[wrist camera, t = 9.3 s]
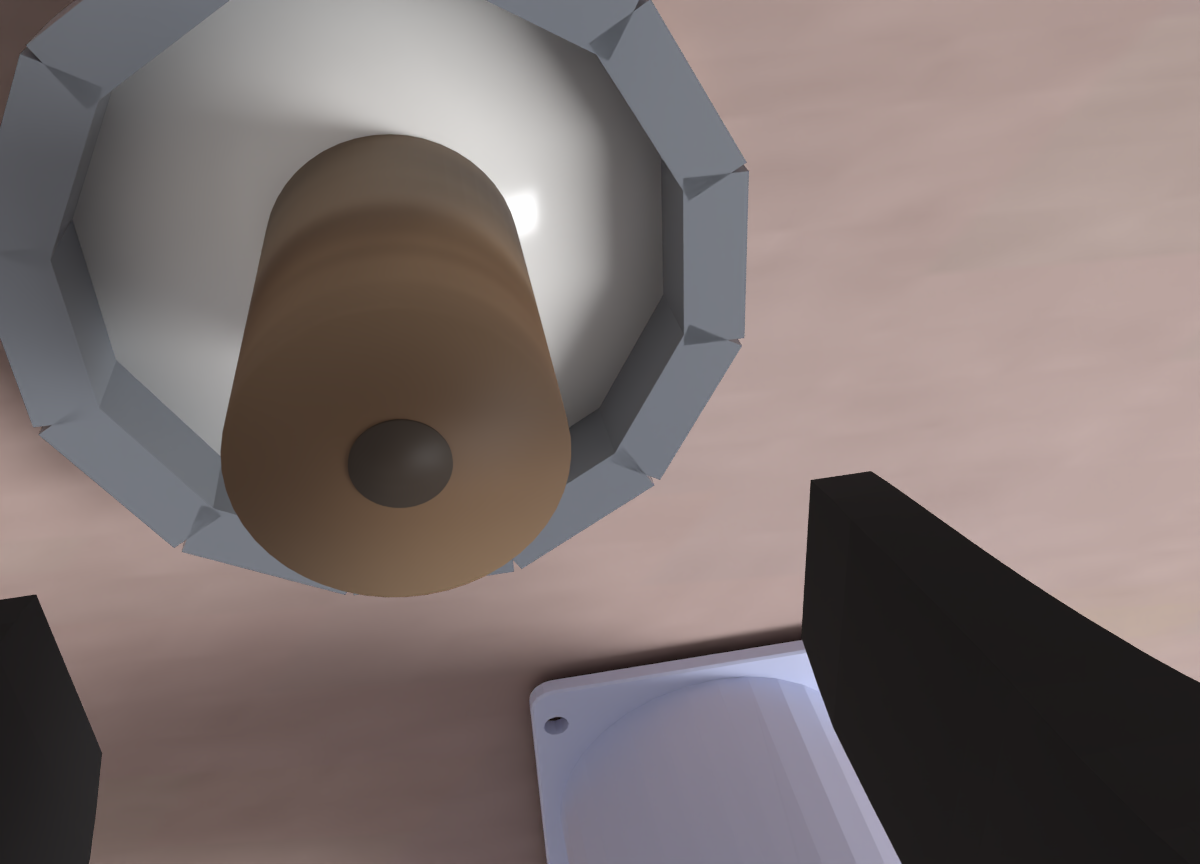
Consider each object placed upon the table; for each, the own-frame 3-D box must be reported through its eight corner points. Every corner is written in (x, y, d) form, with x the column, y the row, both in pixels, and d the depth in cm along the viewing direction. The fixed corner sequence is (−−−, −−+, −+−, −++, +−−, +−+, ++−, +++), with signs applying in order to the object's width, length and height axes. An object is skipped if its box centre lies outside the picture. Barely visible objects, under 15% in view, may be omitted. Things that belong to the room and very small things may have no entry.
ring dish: (710, 476, 22) (739, 538, 21) (128, 558, 21) (108, 631, 19) (716, -151, 16) (757, -134, 15) (-95, -94, 15) (-151, -69, 13)
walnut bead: (531, 350, 20) (585, 571, 15) (295, 383, 19) (266, 623, 14) (503, 118, 17) (555, 285, 12) (237, 152, 17) (177, 337, 12)
